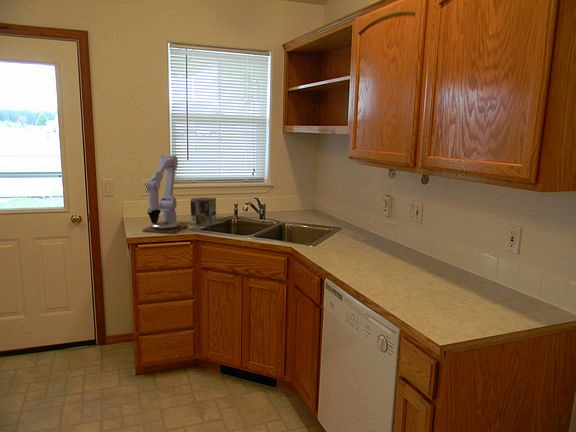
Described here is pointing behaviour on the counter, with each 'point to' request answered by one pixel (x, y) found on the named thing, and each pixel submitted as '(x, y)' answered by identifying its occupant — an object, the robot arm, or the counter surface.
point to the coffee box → (203, 213)
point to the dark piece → (193, 207)
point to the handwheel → (165, 224)
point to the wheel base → (166, 231)
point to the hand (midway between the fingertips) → (154, 222)
